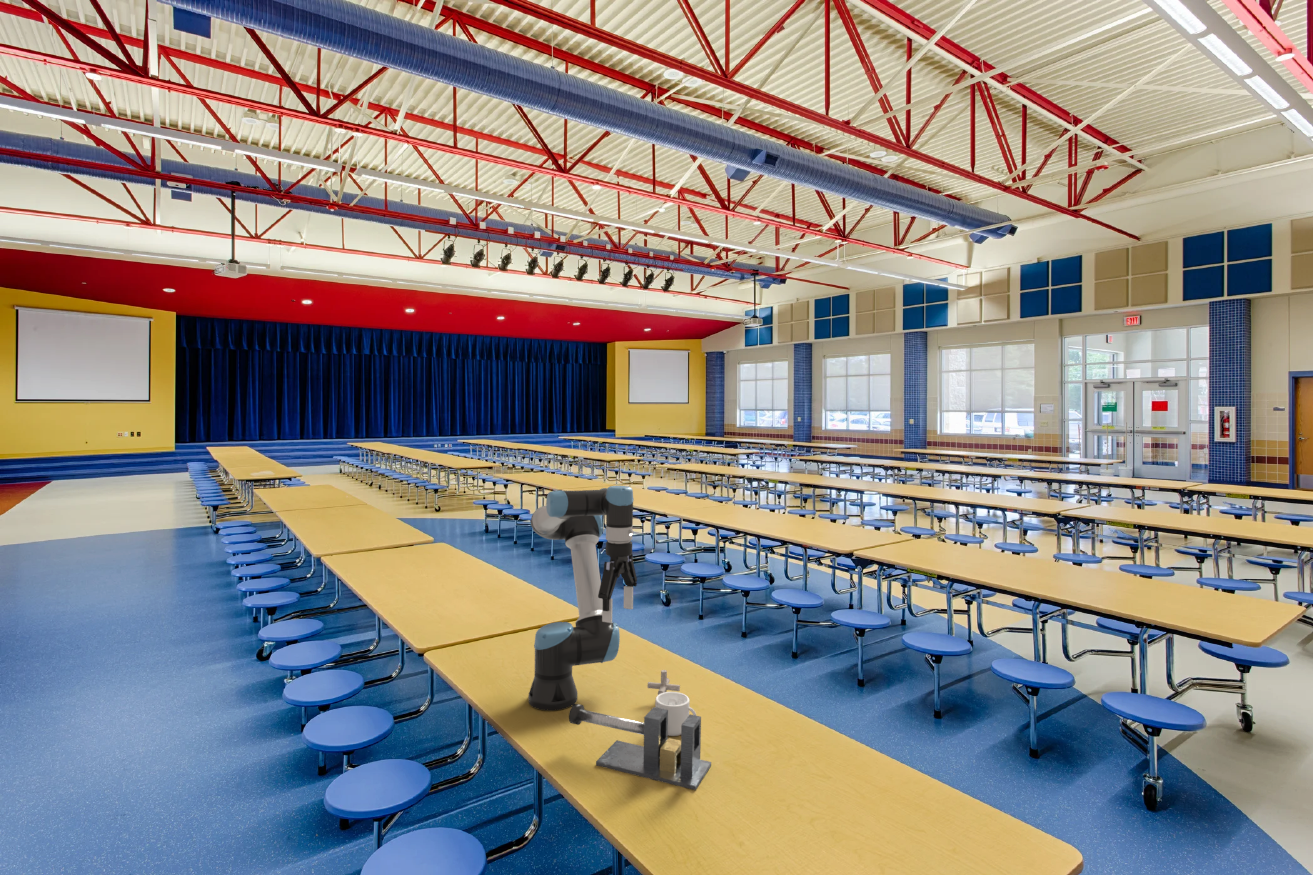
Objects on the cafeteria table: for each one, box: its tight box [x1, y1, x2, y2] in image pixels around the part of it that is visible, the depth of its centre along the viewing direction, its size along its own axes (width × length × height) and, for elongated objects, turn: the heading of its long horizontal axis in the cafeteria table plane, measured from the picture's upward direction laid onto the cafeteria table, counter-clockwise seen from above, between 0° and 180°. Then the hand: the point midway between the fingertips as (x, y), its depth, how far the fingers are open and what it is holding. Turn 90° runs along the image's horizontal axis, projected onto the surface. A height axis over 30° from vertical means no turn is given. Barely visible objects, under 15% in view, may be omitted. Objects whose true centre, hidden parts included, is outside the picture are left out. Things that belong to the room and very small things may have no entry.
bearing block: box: [595, 707, 712, 791], centre depth 168 cm, size 27×12×14 cm, turn 67°
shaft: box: [568, 703, 644, 736], centre depth 172 cm, size 23×5×5 cm, turn 67°
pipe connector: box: [646, 669, 681, 696], centre depth 205 cm, size 10×10×10 cm
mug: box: [655, 691, 697, 737], centre depth 187 cm, size 12×10×9 cm
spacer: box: [660, 737, 681, 774], centre depth 166 cm, size 4×6×6 cm
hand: (618, 615), depth 187 cm, fingers open, 13 cm apart
